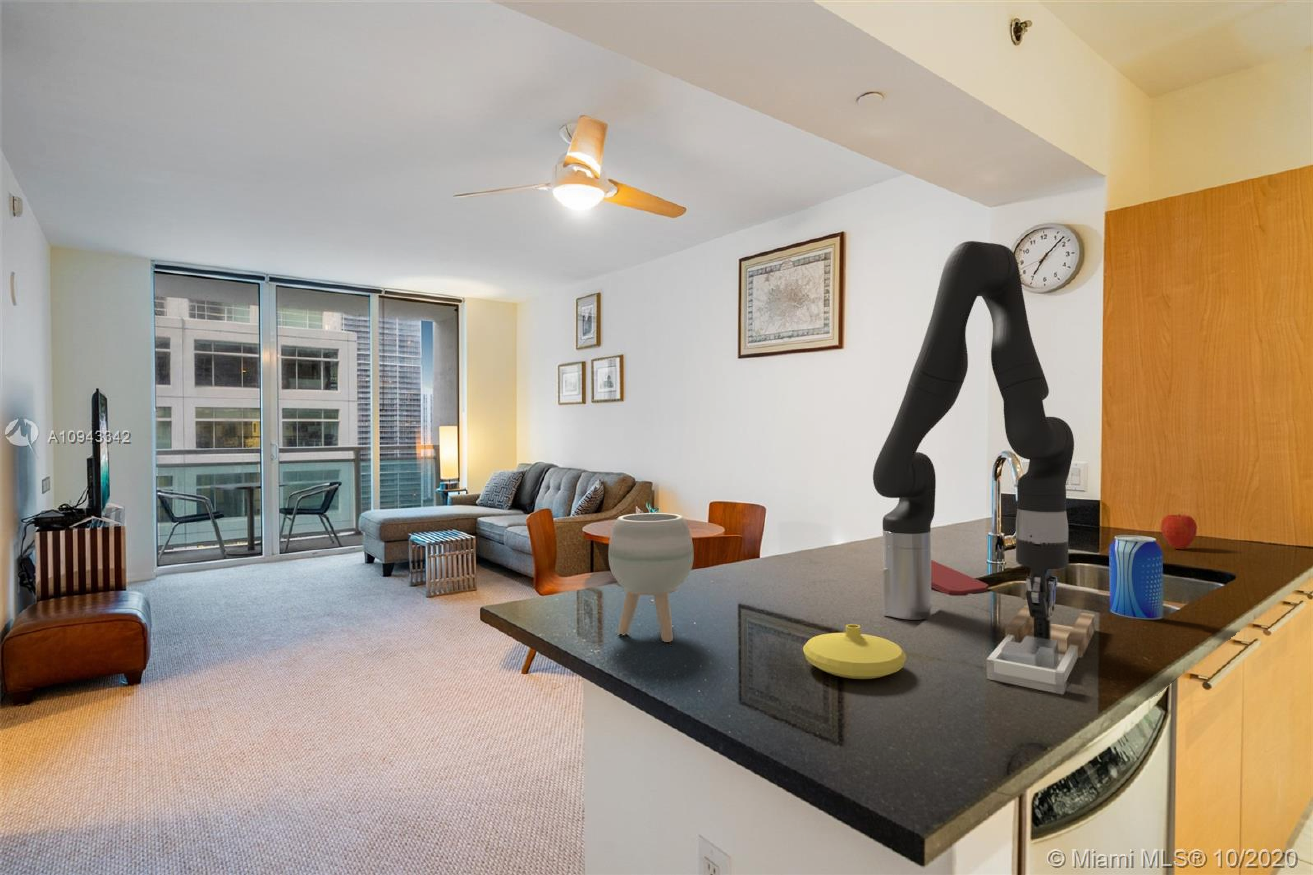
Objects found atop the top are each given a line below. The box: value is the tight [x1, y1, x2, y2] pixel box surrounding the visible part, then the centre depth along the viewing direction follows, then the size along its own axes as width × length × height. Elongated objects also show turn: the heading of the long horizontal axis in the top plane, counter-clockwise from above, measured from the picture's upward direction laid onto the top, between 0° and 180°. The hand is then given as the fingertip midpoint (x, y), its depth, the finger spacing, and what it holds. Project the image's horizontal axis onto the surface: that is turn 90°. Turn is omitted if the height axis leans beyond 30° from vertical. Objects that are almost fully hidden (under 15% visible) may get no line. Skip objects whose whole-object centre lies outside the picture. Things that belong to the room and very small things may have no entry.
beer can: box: [1108, 534, 1164, 620], centre depth 128 cm, size 8×8×16 cm
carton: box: [931, 559, 989, 596], centre depth 162 cm, size 12×5×25 cm
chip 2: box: [1021, 636, 1058, 668], centre depth 103 cm, size 4×4×3 cm
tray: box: [986, 634, 1079, 695], centre depth 102 cm, size 15×10×3 cm, turn 141°
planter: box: [607, 512, 694, 643], centre depth 124 cm, size 16×16×22 cm
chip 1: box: [1002, 641, 1041, 667], centre depth 101 cm, size 4×4×3 cm
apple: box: [1160, 513, 1198, 550], centre depth 197 cm, size 9×8×11 cm
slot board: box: [1004, 604, 1096, 659], centre depth 115 cm, size 18×11×4 cm, turn 141°
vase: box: [802, 623, 907, 680], centre depth 105 cm, size 16×16×7 cm
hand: (1042, 640), depth 109 cm, fingers closed
